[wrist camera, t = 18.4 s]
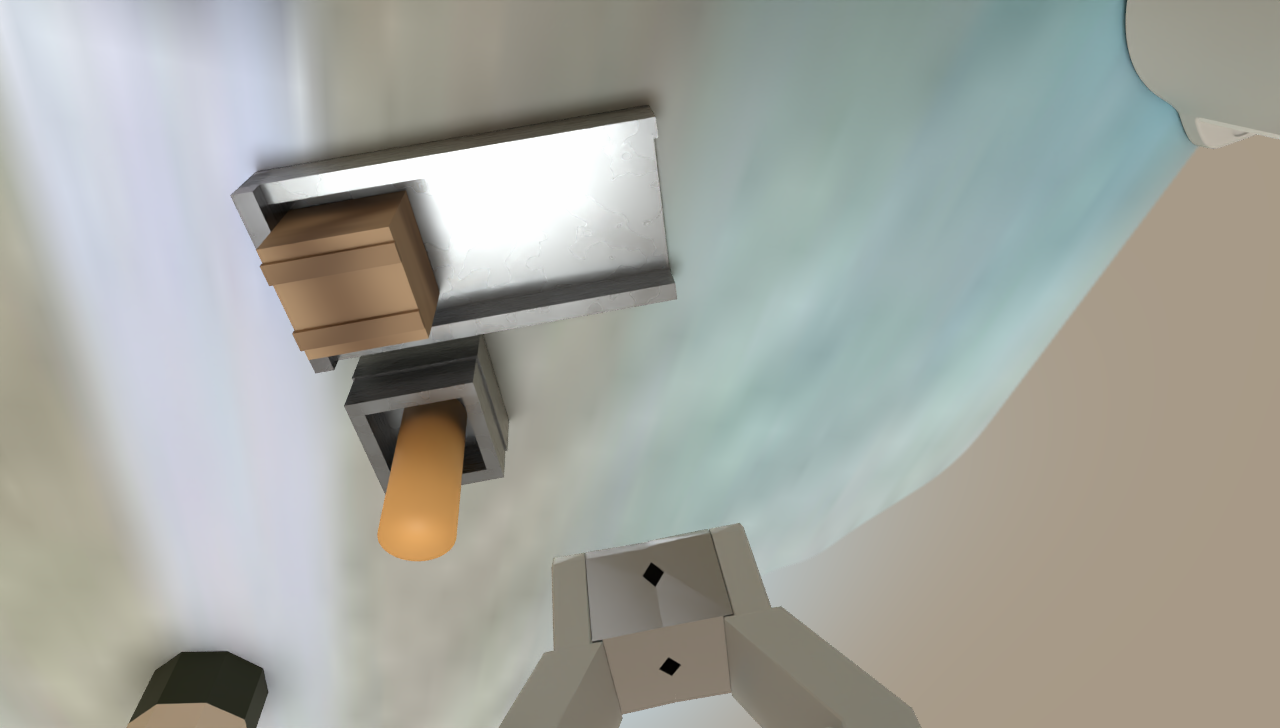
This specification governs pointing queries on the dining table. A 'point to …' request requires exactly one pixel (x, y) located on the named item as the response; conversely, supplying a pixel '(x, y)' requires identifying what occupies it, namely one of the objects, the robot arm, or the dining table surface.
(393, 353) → the square tube sleeve
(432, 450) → the round peg
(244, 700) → the wine bottle
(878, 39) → the dining table surface
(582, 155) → the bay
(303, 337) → the crate
